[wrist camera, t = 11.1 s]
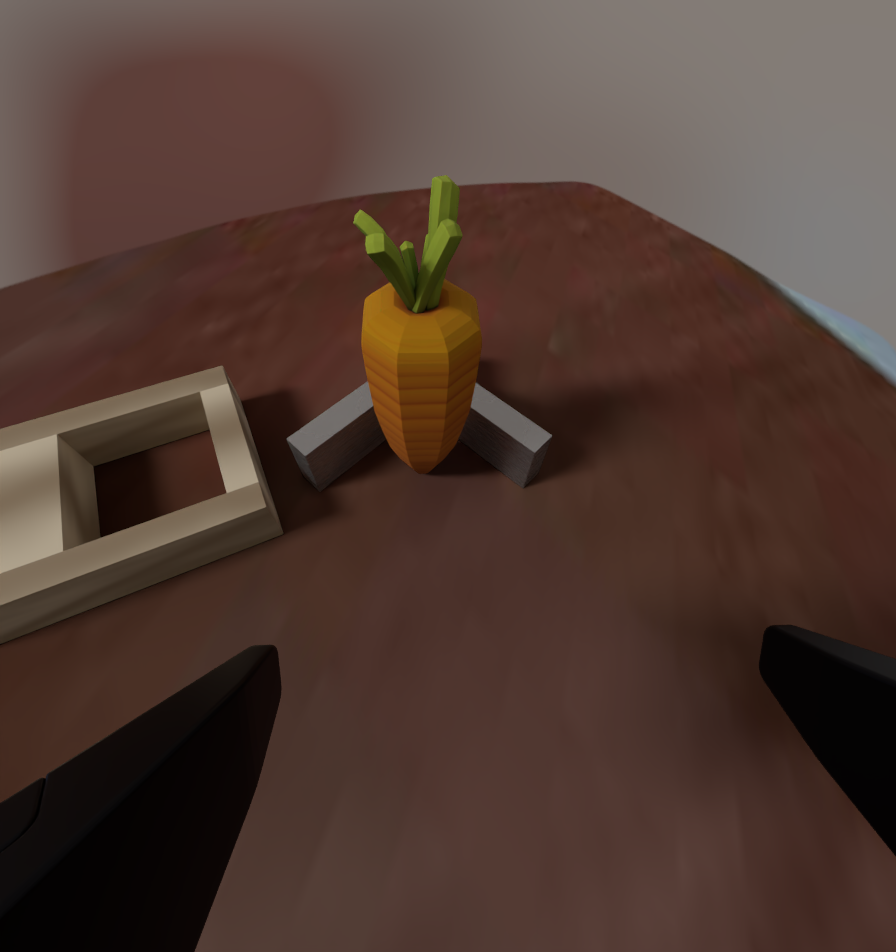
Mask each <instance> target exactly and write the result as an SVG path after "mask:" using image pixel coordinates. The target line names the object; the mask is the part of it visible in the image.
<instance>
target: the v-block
mask: <svg viewBox="0 0 896 952" xmlns="http://www.w3.org/2000/svg"><path fill="white" fill-rule="evenodd" d="M551 438H552V435H551V434H549V433H548V432H546V431H545V430H544V429H542V428H541V427H539V426H538V425H536V424H535V423H533V422H532V421H531V420H529V419H528V418H526V417H525V416H523V415H522V414H520V413H519V412H518V411H516V410H515V409H513V408H512V407H510V406H509V405H507V404H506V403H505V402H503V401H502V400H500V399H499V398H497V397H496V396H494V395H493V394H491V393H490V392H489V391H487V390H486V389H484V388H483V387H481V386H480V385H478V384H477V383H476V384H475V388H474V393H473V398H472V403H471V408H470V411H469V414H468V417H467V419H466V422H465V424H464V427H463V430H462V432H461V434H460V436H459V438H458V439H459V440H460V441H461V442H463V443H464V444H465V445H467V446H468V447H469V448H471V449H472V450H473V451H474V452H476V453H477V454H478V455H480V456H481V457H482V458H484V459H485V460H486V461H488V462H489V463H490V464H492V465H493V466H494V467H496V468H497V469H498V470H499V471H501V472H502V473H503V474H505V475H506V476H507V477H509V478H510V479H511V480H513V481H514V482H515V483H517V484H518V485H519V486H521V487H522V488H524V487H525V486H526V485H527V484H528V483H529V482H530V481H531V480H532V479H533V478H534V477H535V476H536V475H537V474H538V473H539V471H540V468H541V465H542V463H543V460H544V457H545V454H546V452H547V449H548V446H549V443H550V441H551ZM385 440H386V437H385V435H384V433H383V431H382V428H381V426H380V424H379V421H378V419H377V416H376V414H375V411H374V407H373V402H372V398H371V393H370V389H369V384H368V382H366V383H365V384H363V385H362V386H360V387H359V388H358V389H356V390H355V391H353V392H352V393H351V394H349V395H348V396H346V397H345V398H343V399H342V400H341V401H339V402H338V403H336V404H335V405H334V406H332V407H331V408H329V409H328V410H326V411H325V412H324V413H322V414H321V415H319V416H318V417H317V418H315V419H314V420H312V421H311V422H309V423H308V424H307V425H305V426H304V427H302V428H301V429H300V430H298V431H297V432H295V433H294V434H292V435H291V436H290V437H288V438H287V441H288V444H289V446H290V448H291V450H292V453H293V455H294V457H295V459H296V462H297V464H298V466H299V468H300V471H301V473H302V475H303V476H304V477H305V478H306V479H307V480H308V481H309V482H310V483H311V484H312V485H313V486H314V487H315V488H316V489H317V490H318V491H319V492H320V491H322V490H323V489H324V488H325V487H327V486H328V485H329V484H330V483H332V482H333V481H334V480H336V479H337V478H338V477H339V476H341V475H342V474H343V473H344V472H346V471H347V470H348V469H349V468H351V467H352V466H353V465H354V464H356V463H357V462H358V461H360V460H361V459H362V458H363V457H365V456H366V455H367V454H368V453H370V452H371V451H372V450H373V449H375V448H376V447H377V446H379V445H380V444H381V443H382V442H384V441H385Z"/></svg>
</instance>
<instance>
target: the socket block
mask: <svg viewBox="0 0 896 952" xmlns="http://www.w3.org/2000/svg"><path fill="white" fill-rule="evenodd" d="M207 430H210V432H211V436H212V439H213V443H214V447H215V451H216V454H217V458H218V462H219V466H220V469H221V473H222V477H223V481H224V484H225V488H226V492H227V493H226V494H223V495H220V496H217V497H215V498H212V499H209V500H206V501H203V502H201V503H198V504H195V505H192V506H189V507H186V508H184V509H181V510H178V511H175V512H172V513H170V514H167V515H164V516H161V517H158V518H155V519H153V520H150V521H147V522H144V523H141V524H139V525H136V526H133V527H130V528H127V529H124V530H122V531H119V532H116V533H113V534H110V535H108V536H105V537H102V538H101V537H100V527H99V517H98V507H97V497H96V487H95V477H94V467H93V466H97V465H100V464H103V463H106V462H109V461H112V460H115V459H119V458H122V457H125V456H128V455H131V454H134V453H137V452H141V451H144V450H147V449H150V448H153V447H156V446H159V445H163V444H166V443H169V442H172V441H175V440H178V439H181V438H185V437H188V436H191V435H194V434H197V433H200V432H203V431H207ZM282 534H284V533H283V530H282V527H281V524H280V521H279V518H278V515H277V511H276V508H275V505H274V502H273V499H272V496H271V493H270V490H269V487H268V484H267V480H266V477H265V474H264V471H263V468H262V465H261V462H260V459H259V456H258V452H257V449H256V446H255V443H254V440H253V437H252V434H251V431H250V428H249V425H248V421H247V418H246V415H245V412H244V409H243V406H242V403H241V400H240V398H239V396H238V394H237V392H236V391H235V389H234V387H233V385H232V383H231V381H230V379H229V377H228V375H227V373H226V371H225V370H224V368H223V366H219V367H215V368H212V369H208V370H205V371H201V372H198V373H194V374H191V375H187V376H184V377H180V378H177V379H173V380H170V381H166V382H163V383H159V384H156V385H152V386H149V387H145V388H142V389H138V390H135V391H131V392H128V393H124V394H121V395H118V396H114V397H111V398H107V399H104V400H100V401H97V402H93V403H90V404H86V405H83V406H79V407H76V408H72V409H69V410H65V411H62V412H58V413H55V414H51V415H48V416H44V417H41V418H37V419H34V420H30V421H27V422H23V423H20V424H16V425H13V426H9V427H6V428H2V429H0V644H2V643H4V642H7V641H9V640H12V639H15V638H17V637H20V636H22V635H25V634H27V633H30V632H33V631H35V630H38V629H40V628H43V627H45V626H48V625H51V624H53V623H56V622H58V621H61V620H63V619H66V618H69V617H71V616H74V615H76V614H79V613H82V612H84V611H87V610H89V609H92V608H94V607H97V606H100V605H102V604H105V603H107V602H110V601H112V600H115V599H118V598H120V597H123V596H125V595H128V594H130V593H133V592H136V591H138V590H141V589H143V588H146V587H148V586H151V585H154V584H156V583H159V582H161V581H164V580H166V579H169V578H172V577H174V576H177V575H179V574H182V573H185V572H187V571H190V570H192V569H195V568H197V567H200V566H203V565H205V564H208V563H210V562H213V561H215V560H218V559H221V558H223V557H226V556H228V555H231V554H233V553H236V552H239V551H241V550H244V549H246V548H249V547H251V546H254V545H257V544H259V543H262V542H264V541H267V540H269V539H272V538H275V537H277V536H280V535H282Z"/></svg>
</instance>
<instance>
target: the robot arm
mask: <svg viewBox="0 0 896 952" xmlns="http://www.w3.org/2000/svg"><path fill="white" fill-rule="evenodd" d="M759 670H760V674H761V676H762V678H763V680H764V682H765V683H766V685H767V686H768V688H769V689H770V690H771V692H772V693H773V695H774V696H775V698H776V699H777V701H778V702H779V704H780V705H781V707H782V708H783V710H784V711H785V712H786V714H787V715H788V717H789V718H790V720H791V721H792V723H793V724H794V726H795V727H796V729H797V730H798V731H799V733H800V734H801V736H802V737H803V739H804V740H805V742H806V743H807V745H808V746H809V747H810V749H811V750H812V752H813V753H814V754H815V756H816V757H817V759H818V760H819V761H820V763H821V764H822V765H823V766H824V768H825V769H826V770H827V772H828V773H829V774H830V775H831V777H832V778H833V779H834V780H835V782H836V783H837V784H838V785H839V787H840V788H841V789H842V790H843V791H844V793H845V794H846V795H847V796H848V798H849V799H850V800H851V801H852V803H853V804H854V805H855V806H856V808H857V809H858V810H859V811H860V813H861V814H862V815H863V816H864V818H865V819H866V820H867V821H868V823H869V824H870V825H871V826H872V828H873V829H874V830H875V831H876V833H877V834H878V835H879V836H880V837H881V839H882V840H883V841H884V842H885V844H886V845H887V846H888V847H889V849H890V850H891V851H892V852H893V854H894V855H895V856H896V659H894V658H891V657H888V656H885V655H882V654H879V653H876V652H873V651H870V650H866V649H863V648H860V647H857V646H854V645H851V644H848V643H845V642H842V641H839V640H836V639H833V638H830V637H827V636H824V635H821V634H818V633H815V632H812V631H809V630H806V629H803V628H800V627H797V626H793V625H772V626H769V627H767V628H766V630H765V631H764V635H763V641H762V648H761V654H760V660H759ZM280 698H281V677H280V667H279V658H278V651H277V648H276V647H275V646H274V645H254V646H250V647H249V648H247V649H246V650H244V651H242V652H241V653H239V654H238V655H236V656H234V657H233V658H231V659H230V660H228V661H226V662H225V663H223V664H222V665H220V666H218V667H217V668H215V669H214V670H212V671H210V672H209V673H207V674H206V675H204V676H202V677H201V678H199V679H198V680H196V681H194V682H193V683H191V684H190V685H188V686H186V687H185V688H183V689H182V690H180V691H179V692H177V693H175V694H174V695H172V696H171V697H169V698H167V699H166V700H164V701H163V702H161V703H159V704H158V705H156V706H155V707H153V708H151V709H150V710H148V711H147V712H145V713H143V714H142V715H140V716H139V717H137V718H135V719H134V720H132V721H131V722H129V723H127V724H126V725H124V726H123V727H121V728H119V729H118V730H116V731H115V732H113V733H111V734H110V735H108V736H107V737H105V738H103V739H102V740H100V741H99V742H97V743H95V744H94V745H92V746H91V747H89V748H88V749H86V750H84V751H83V752H81V753H80V754H78V755H76V756H75V757H73V758H72V759H70V760H68V761H67V762H65V763H64V764H62V765H60V766H59V767H57V768H56V769H54V770H52V771H51V772H49V773H48V774H47V776H46V779H45V778H39V779H38V780H36V781H35V782H33V783H31V784H30V785H28V786H27V787H25V788H24V789H22V790H20V791H19V792H17V793H16V794H14V795H12V796H11V797H9V798H8V799H6V800H4V801H3V802H1V803H0V952H194V951H195V949H196V946H197V944H198V941H199V938H200V936H201V933H202V930H203V928H204V925H205V923H206V920H207V917H208V915H209V912H210V909H211V907H212V904H213V902H214V899H215V896H216V894H217V891H218V888H219V886H220V883H221V881H222V878H223V875H224V873H225V870H226V867H227V865H228V862H229V860H230V857H231V854H232V852H233V849H234V846H235V844H236V841H237V839H238V836H239V833H240V831H241V828H242V825H243V823H244V820H245V818H246V815H247V812H248V810H249V807H250V804H251V802H252V799H253V796H254V793H255V790H256V787H257V784H258V781H259V777H260V774H261V770H262V766H263V763H264V759H265V755H266V751H267V747H268V744H269V740H270V736H271V732H272V729H273V725H274V721H275V717H276V714H277V710H278V706H279V702H280Z"/></svg>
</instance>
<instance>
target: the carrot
mask: <svg viewBox="0 0 896 952" xmlns="http://www.w3.org/2000/svg"><path fill="white" fill-rule="evenodd" d="M459 191H460V188H459V187H458V186H457V185H456V184H455V183H454V182H453V181H452V180H451V179H450V178H449V177H448V176H447V175H445V176H438V177H435V178H433V179H432V187H431V198H430V212H429V232H428V234H427V235H426V239H425V244H424V250H423V255H422V261H421V268H420V272H419V273H418V267H417V262H416V257H415V252H414V248H413V243H410V242H407V241H405V242H404V243H403V244H402V245H401V246H400V250H401V254H402V258H401V255H400V253H399V250H398V248H397V247H396V246H395V244H394V243H393V242H392V240H391V239H390V238H389V237H387V235H386V234H385V232H384V230H383V229H382V228H381V227H380V226H379V225H378V224H377V223H376V222H375V221H374V220H373V219H372V218H371V217H370V216H369V215H367V214H366V213H365V212H363V211H362V210H360V211H359V212H358V213H357V214H356V215H355V219H354V224H355V225H356V226H357V227H358V229H359V230H360V231H361V232H362V233H363V234H364V235H365V236H366V243H365V246H366V250H367V254H368V255H369V256H370V258H371V259H372V260H373V261H374V262H375V263H376V264H377V265H378V266H379V267H380V268H381V270H382V271H383V273H384V274H385V276H386V277H387V278H388V280H389V281H390V283H389V284H387V285H385V286H384V287H382V288H380V289H379V290H377V291H375V292H373V293H372V294H371V295H370V296H368V297H367V298H366V299H365V303H364V311H363V325H362V352H363V357H364V363H365V368H366V374H367V379H368V384H369V389H370V393H371V398H372V402H373V407H374V411H375V414H376V416H377V419H378V421H379V424H380V426H381V428H382V431H383V433H384V435H385V437H386V439H387V441H388V443H389V445H390V447H391V448H392V450H393V451H394V452H395V453H396V454H397V456H398V457H399V458H400V459H401V460H402V461H404V462H405V463H406V464H407V465H409V466H410V467H411V468H412V469H414V470H415V471H416V472H417V473H419V474H427V473H428V472H430V471H431V470H432V469H433V468H434V467H436V466H437V465H438V464H439V463H440V462H441V461H442V460H443V459H445V458H446V456H447V455H448V454H449V453H450V451H451V450H452V449H453V448H454V446H455V445H456V442H457V440H458V438H459V436H460V434H461V432H462V430H463V427H464V424H465V422H466V419H467V417H468V414H469V411H470V408H471V403H472V398H473V393H474V388H475V384H476V378H477V372H478V366H479V360H480V354H481V348H482V337H481V329H480V322H479V315H478V307H477V303H476V299H475V298H474V297H473V296H471V295H470V294H469V293H467V292H466V291H464V290H462V289H461V288H459V287H457V286H455V285H454V284H452V283H450V282H449V281H447V280H445V279H444V278H445V274H446V271H447V267H448V264H449V262H450V260H451V258H452V257H453V255H454V253H455V251H456V249H457V247H458V245H459V243H460V241H461V238H462V233H461V229H460V227H459V226H458V224H457V223H456V221H457V214H458V202H459ZM402 259H403V260H402Z"/></svg>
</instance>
